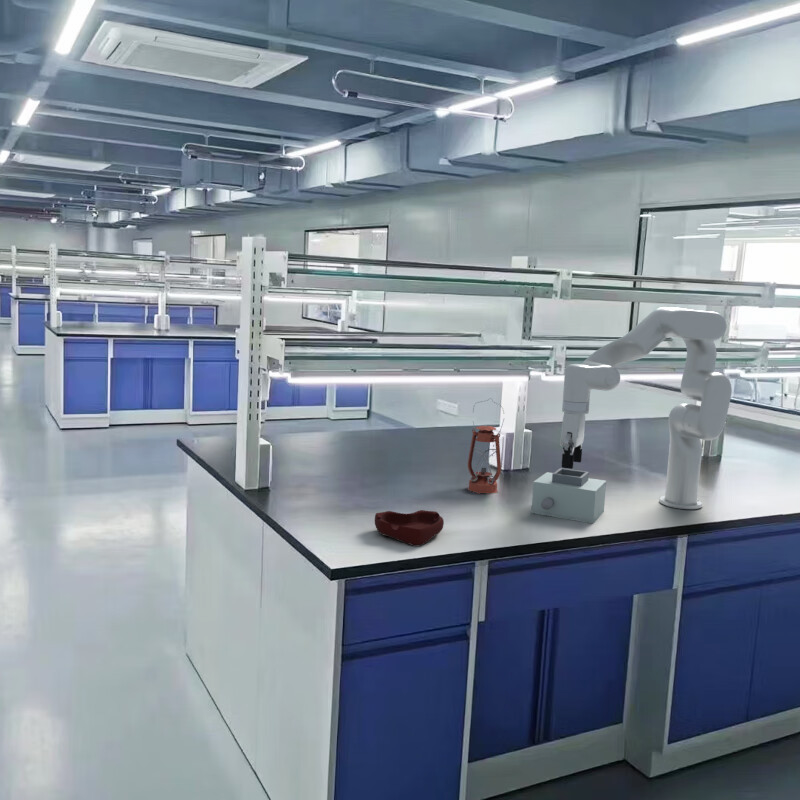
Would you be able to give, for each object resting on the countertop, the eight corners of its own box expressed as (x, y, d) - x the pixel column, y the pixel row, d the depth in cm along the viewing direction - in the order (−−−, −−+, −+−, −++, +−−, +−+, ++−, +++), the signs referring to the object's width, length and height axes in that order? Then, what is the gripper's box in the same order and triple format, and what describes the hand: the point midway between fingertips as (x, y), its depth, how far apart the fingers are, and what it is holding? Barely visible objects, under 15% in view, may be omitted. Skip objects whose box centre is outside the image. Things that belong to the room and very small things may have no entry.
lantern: (495, 486, 256) (500, 396, 251) (500, 495, 246) (506, 401, 241) (466, 485, 256) (470, 395, 251) (469, 494, 245) (474, 400, 241)
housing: (544, 501, 240) (547, 464, 238) (603, 511, 232) (607, 472, 230) (528, 515, 225) (530, 475, 223) (590, 526, 217) (594, 484, 215)
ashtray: (383, 549, 192) (384, 530, 191) (371, 529, 208) (372, 510, 207) (453, 547, 196) (454, 528, 195) (436, 527, 212) (436, 509, 211)
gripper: (570, 402, 234) (566, 457, 237) (554, 409, 219) (550, 468, 221) (595, 404, 231) (591, 461, 234) (581, 412, 216) (576, 472, 218)
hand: (571, 464), depth 227 cm, fingers open, 9 cm apart
